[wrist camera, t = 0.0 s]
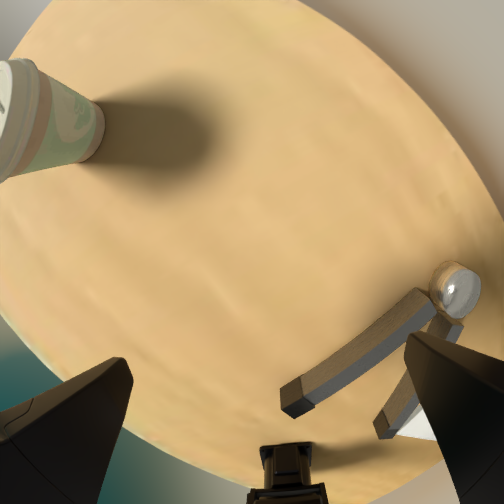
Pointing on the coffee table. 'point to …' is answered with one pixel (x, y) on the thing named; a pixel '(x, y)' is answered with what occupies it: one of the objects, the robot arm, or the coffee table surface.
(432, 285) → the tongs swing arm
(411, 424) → the external hard drive
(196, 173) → the coffee table surface
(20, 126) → the coffee cup
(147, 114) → the coffee table surface
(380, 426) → the tongs fixed arm
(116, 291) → the coffee table surface
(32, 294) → the coffee table surface
